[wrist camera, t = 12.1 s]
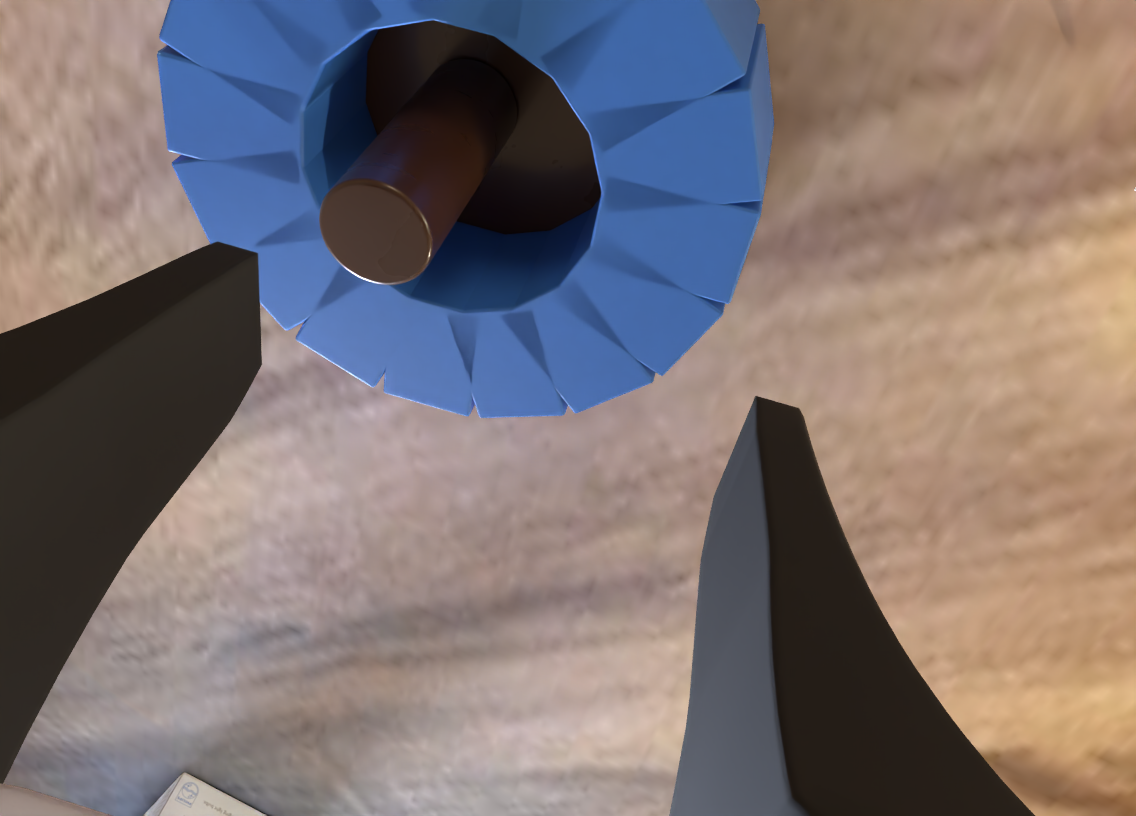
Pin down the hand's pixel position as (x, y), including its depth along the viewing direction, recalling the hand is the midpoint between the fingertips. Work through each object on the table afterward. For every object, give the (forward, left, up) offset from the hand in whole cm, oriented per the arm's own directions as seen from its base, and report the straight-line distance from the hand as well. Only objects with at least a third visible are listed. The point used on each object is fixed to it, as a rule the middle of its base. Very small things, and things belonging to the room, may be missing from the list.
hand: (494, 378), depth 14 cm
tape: (-2, +1, -8) cm, 9 cm away
